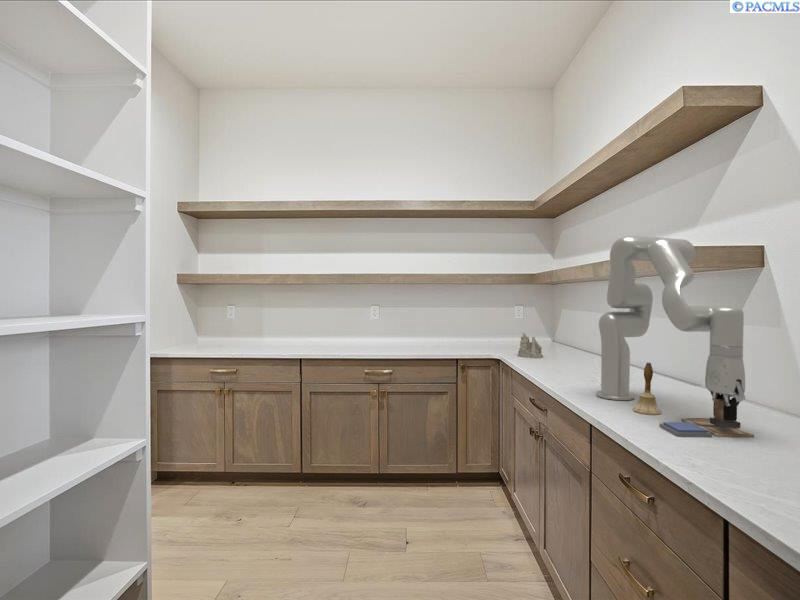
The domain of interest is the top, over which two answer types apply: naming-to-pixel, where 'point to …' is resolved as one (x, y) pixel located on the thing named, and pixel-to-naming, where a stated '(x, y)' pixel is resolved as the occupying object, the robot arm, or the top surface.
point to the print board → (717, 428)
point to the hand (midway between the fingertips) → (724, 417)
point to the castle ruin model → (529, 348)
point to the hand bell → (647, 395)
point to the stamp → (722, 416)
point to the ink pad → (685, 429)
